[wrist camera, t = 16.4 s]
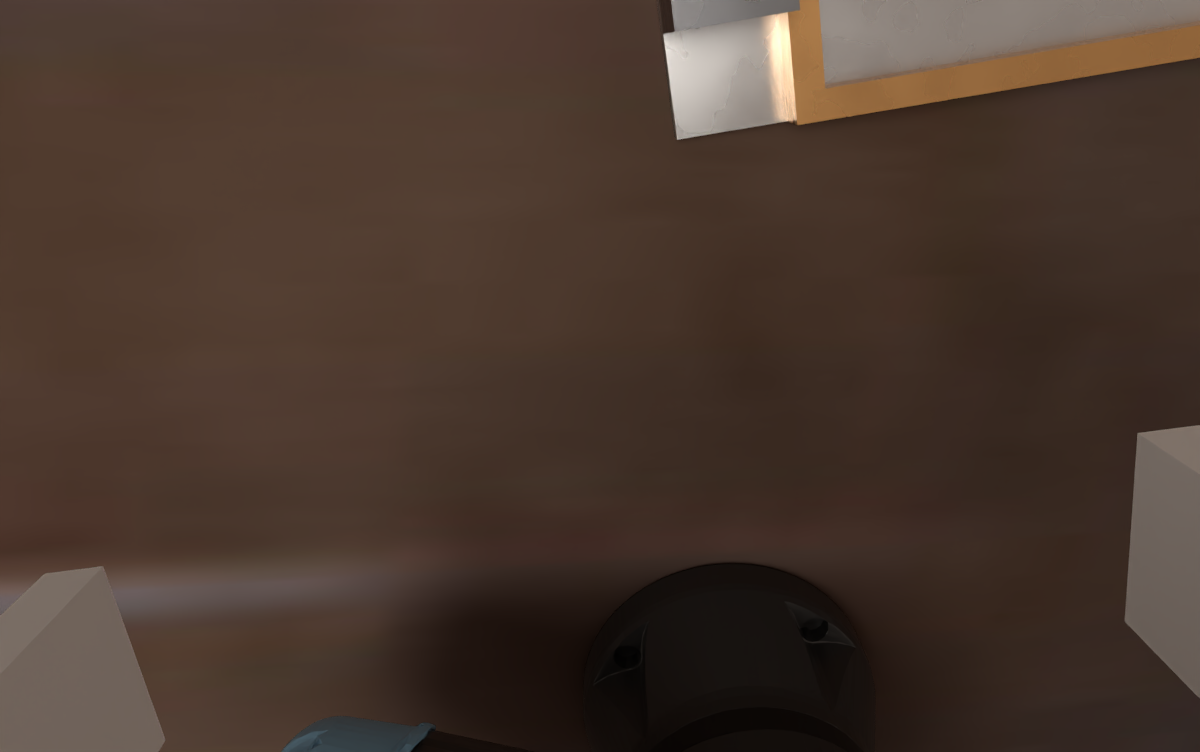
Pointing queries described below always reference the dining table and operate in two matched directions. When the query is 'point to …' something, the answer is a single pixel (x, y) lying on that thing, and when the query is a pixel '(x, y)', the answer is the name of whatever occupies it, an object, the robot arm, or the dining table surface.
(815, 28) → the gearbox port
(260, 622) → the dining table surface
